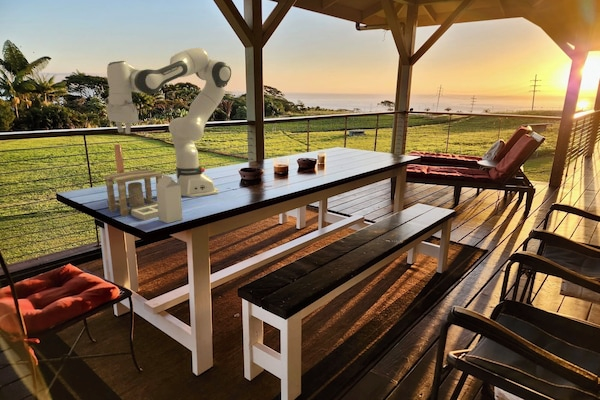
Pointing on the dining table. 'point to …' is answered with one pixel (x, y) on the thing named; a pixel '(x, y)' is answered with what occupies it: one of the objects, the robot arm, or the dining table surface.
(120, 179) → the tunnel
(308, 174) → the dining table surface
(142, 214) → the pit deck
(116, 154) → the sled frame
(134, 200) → the carving
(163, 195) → the milk carton
